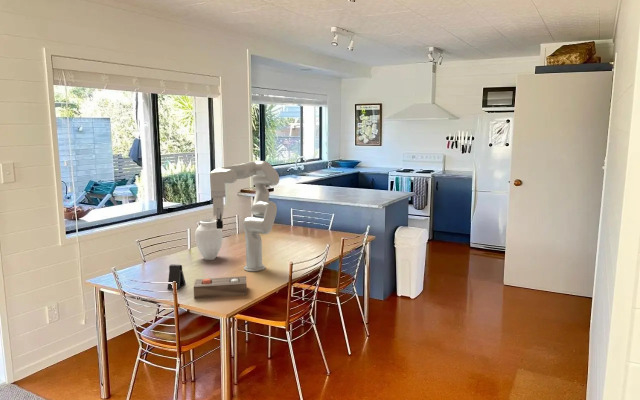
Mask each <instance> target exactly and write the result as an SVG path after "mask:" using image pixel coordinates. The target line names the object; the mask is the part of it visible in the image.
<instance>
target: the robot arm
mask: <svg viewBox="0 0 640 400" xmlns="http://www.w3.org/2000/svg"><path fill="white" fill-rule="evenodd" d="M279 175H280V174H279V173H278V172H277V170H276V169H275V168H274V167H273V166H272V165H271V164H270V163H269V162H268V161H265V160H250V161H247V162H243V163H239V164H233V165H226V166H220V167H217V168H215V169H213V170H212V171H211V172H210V173H209V177H210V178H209V180H210V181H209V182H210V197H211V199H212V208H213V213H212V214H213V217H216V226H217V229H223V228H224V222H223V215H224V211H225V209H224V205H225V204H224V202H225V201H224V198H226V196H227V194H226V184H233V183H235V182H236V181H237V180H245V179H248V178H250V177H251V178H252V182H253V184H254V187H255V193H254V198H253V200H252V203H251V207H250V212H251V214H252V215H253V216H248V217H245V218H244V220H243V223H242V227H243V232H244V236H245V264H246V265H244V267H243V269H244V271H247V272H259V271H263V270H265V269H266V266H265V265H264V264H263V247H262V246H263V245H262V243H263V241H262V237H261V235H268V234H270V233H271V231H272V229H273V226H274V223H275V220H276V216H277V213H278V212H277V211H278V207H277V204H276V202H273V201H271V200H269V199H270V192H269V189H268V188H267V186H269V187H274V186H277V185H278V184H279V183H280V176H279Z"/></svg>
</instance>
